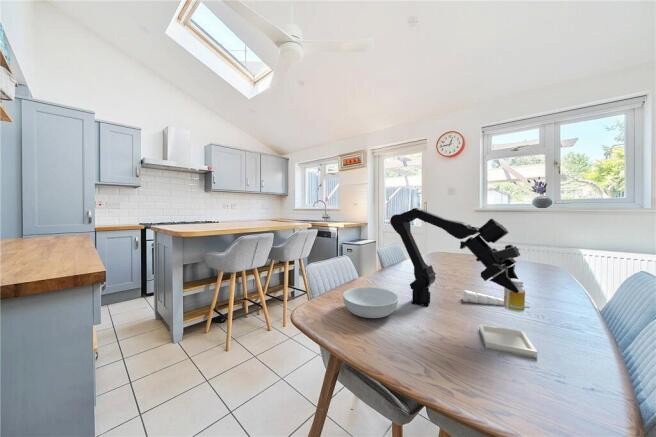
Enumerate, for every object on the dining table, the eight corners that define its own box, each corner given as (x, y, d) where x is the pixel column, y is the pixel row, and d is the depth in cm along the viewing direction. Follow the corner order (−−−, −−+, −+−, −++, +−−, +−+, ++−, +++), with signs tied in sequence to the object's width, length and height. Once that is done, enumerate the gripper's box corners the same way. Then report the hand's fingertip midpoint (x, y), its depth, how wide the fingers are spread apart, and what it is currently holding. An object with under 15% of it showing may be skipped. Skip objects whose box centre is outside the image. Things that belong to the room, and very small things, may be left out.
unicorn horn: (534, 312, 94) (534, 299, 94) (463, 303, 103) (463, 292, 103) (529, 307, 98) (529, 295, 98) (462, 299, 107) (462, 288, 107)
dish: (485, 348, 70) (485, 342, 70) (479, 329, 80) (479, 324, 80) (537, 358, 65) (537, 351, 65) (523, 337, 75) (523, 331, 75)
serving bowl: (407, 311, 94) (408, 294, 94) (379, 332, 79) (379, 311, 78) (363, 298, 108) (363, 283, 108) (331, 313, 93) (331, 295, 93)
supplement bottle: (528, 311, 78) (530, 281, 78) (514, 313, 77) (516, 283, 76) (512, 305, 83) (514, 277, 83) (499, 306, 82) (500, 278, 82)
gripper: (493, 239, 76) (538, 283, 68) (510, 234, 88) (549, 271, 80) (465, 260, 82) (503, 302, 74) (484, 253, 94) (518, 288, 87)
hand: (519, 290), depth 79 cm, fingers closed on supplement bottle, 5 cm apart
